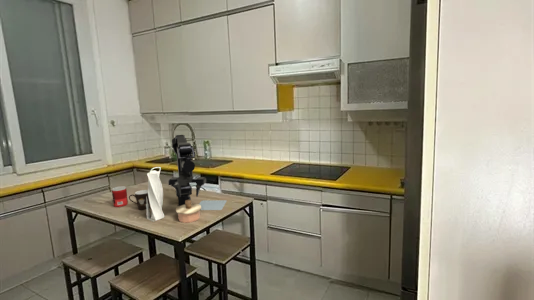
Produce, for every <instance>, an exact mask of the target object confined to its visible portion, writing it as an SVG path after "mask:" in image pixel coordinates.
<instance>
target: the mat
mask: <svg viewBox="0 0 534 300" xmlns="http://www.w3.org/2000/svg"><path fill="white" fill-rule="evenodd" d="M227 202H228V200H225V199H224V200H222V199H221V200H219V199H218V200H217V199H215V200H211V199H210V200H207V199H206V200H201V201H200V202H199V203H198V204H199V205H201V210H200V211H222V210H223V208H224V206H225V205H226V203H227Z"/></svg>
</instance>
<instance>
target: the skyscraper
mask: <svg viewBox="0 0 534 300" xmlns="http://www.w3.org/2000/svg"><path fill="white" fill-rule="evenodd" d="M161 168H162V167H160V166H155V167H153V168H151V169H150V171H149V172H147V173H146V175H147V178H148V179H147V180H148V181H147V190H148V197H149V202H150V208H149V204H148V200H146V203H147V204H146V210H145V211H146V218H145V219H146V220H148V221H150V222H152V223H153V222H156V221H159V220H162V219H163V218H165V214H164V212H163V202H164V201H163V200H164V189H163V185H162V181H161V179H160V178H161V177H160V173H161V170H162V169H161ZM154 169H159V170H158V171H157V170H154ZM146 199H147V197H146ZM150 209H151V212H150Z"/></svg>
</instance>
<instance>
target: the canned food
mask: <svg viewBox="0 0 534 300" xmlns="http://www.w3.org/2000/svg"><path fill="white" fill-rule="evenodd" d="M127 190H128V189H127V186H123V185H122V186H115V187H113V188H111V194H112V202H113V206H114V208H121V207H125V206H127V205H128V204H129V201H128V200H129V198H128V192H127Z"/></svg>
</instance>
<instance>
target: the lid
mask: <svg viewBox="0 0 534 300" xmlns="http://www.w3.org/2000/svg"><path fill="white" fill-rule="evenodd" d="M198 211H200V212H201V211H202V210H201V205H199V203H192V199H191V200H185V204H184V205H181V206H177V207H176V208H175V212H176V213H177V214H178V213H179V214H192V213H196V212H198Z"/></svg>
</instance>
